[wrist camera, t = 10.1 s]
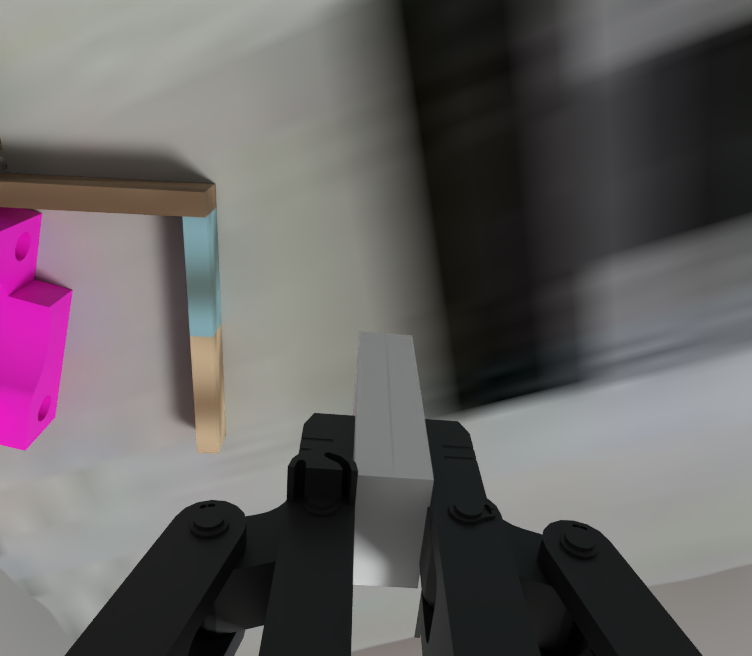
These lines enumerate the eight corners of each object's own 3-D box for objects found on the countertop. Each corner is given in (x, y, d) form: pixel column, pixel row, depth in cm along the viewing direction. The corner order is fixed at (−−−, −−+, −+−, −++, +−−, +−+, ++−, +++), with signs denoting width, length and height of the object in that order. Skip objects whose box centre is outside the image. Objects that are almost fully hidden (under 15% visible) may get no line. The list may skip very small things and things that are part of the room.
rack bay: (-110, 166, 38) (-146, 173, 36) (215, 184, 39) (204, 192, 36) (-49, 423, 45) (-76, 446, 43) (225, 434, 46) (217, 457, 43)
